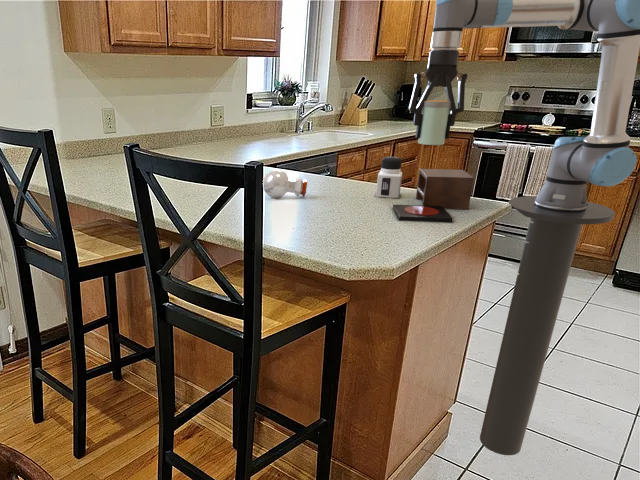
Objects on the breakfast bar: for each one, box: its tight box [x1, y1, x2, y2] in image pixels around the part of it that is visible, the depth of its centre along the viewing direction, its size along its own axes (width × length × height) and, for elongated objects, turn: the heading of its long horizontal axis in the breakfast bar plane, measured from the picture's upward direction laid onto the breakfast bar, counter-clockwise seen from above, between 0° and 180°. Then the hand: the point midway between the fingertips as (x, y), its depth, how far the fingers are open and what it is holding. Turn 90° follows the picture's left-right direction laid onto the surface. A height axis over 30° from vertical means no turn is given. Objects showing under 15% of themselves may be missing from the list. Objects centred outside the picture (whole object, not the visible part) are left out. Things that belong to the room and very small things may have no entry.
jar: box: [417, 99, 451, 146], centre depth 149 cm, size 8×8×12 cm
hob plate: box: [392, 204, 453, 223], centre depth 159 cm, size 15×15×1 cm
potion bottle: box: [263, 169, 308, 199], centre depth 180 cm, size 9×10×15 cm
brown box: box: [415, 168, 475, 210], centre depth 171 cm, size 14×14×10 cm
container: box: [375, 156, 403, 199], centre depth 181 cm, size 8×8×13 cm
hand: (431, 137), depth 151 cm, fingers closed on jar, 7 cm apart
